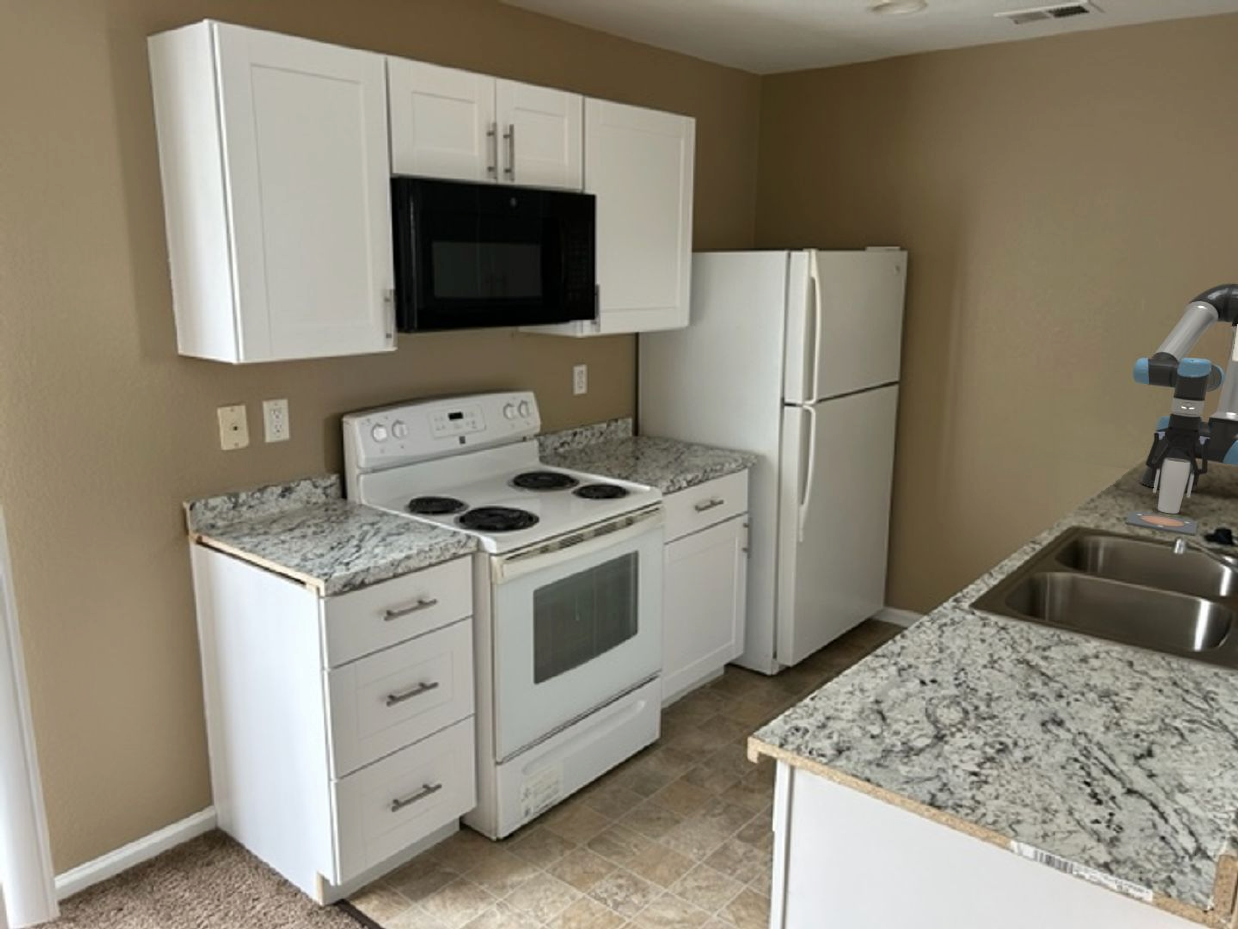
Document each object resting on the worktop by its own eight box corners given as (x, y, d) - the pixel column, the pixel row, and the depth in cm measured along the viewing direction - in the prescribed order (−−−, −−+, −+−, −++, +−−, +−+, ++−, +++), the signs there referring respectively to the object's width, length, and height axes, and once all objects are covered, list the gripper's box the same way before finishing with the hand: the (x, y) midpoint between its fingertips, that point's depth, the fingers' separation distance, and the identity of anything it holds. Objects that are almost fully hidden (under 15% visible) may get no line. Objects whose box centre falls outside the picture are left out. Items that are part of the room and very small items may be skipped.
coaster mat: (1131, 512, 260) (1131, 509, 260) (1197, 523, 251) (1198, 520, 251) (1125, 524, 247) (1125, 521, 246) (1195, 536, 238) (1195, 533, 238)
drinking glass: (1174, 509, 266) (1184, 458, 263) (1186, 515, 259) (1196, 463, 256) (1149, 507, 266) (1159, 456, 263) (1161, 514, 260) (1170, 461, 257)
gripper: (1143, 411, 258) (1130, 490, 263) (1230, 420, 249) (1214, 503, 254) (1144, 408, 265) (1130, 486, 270) (1228, 417, 255) (1212, 497, 260)
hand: (1171, 494), depth 262 cm, fingers open, 8 cm apart
